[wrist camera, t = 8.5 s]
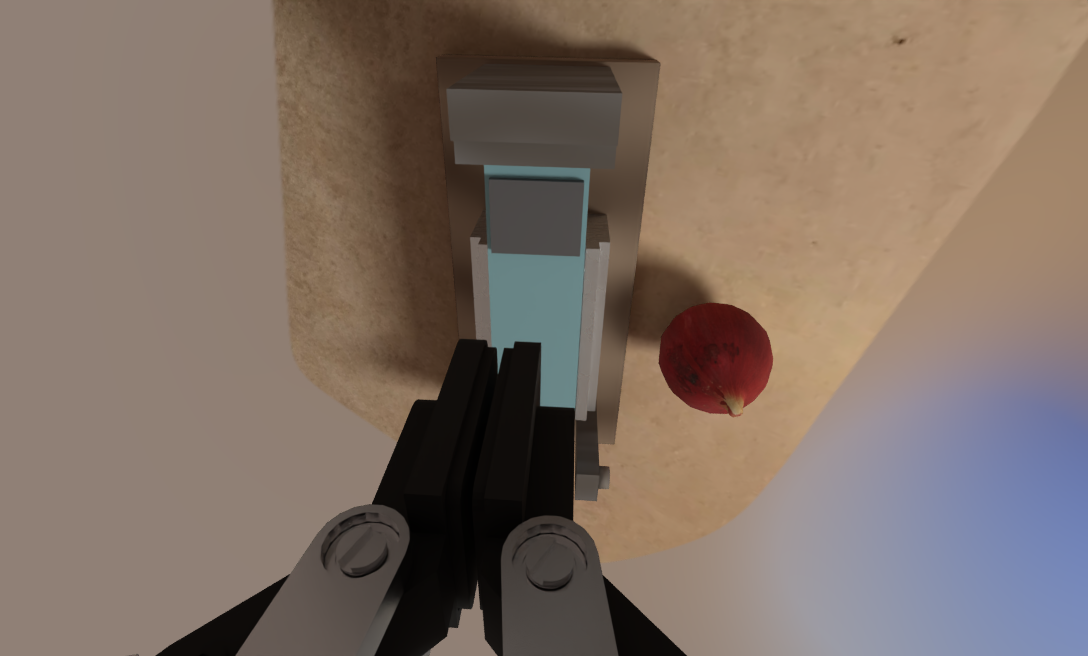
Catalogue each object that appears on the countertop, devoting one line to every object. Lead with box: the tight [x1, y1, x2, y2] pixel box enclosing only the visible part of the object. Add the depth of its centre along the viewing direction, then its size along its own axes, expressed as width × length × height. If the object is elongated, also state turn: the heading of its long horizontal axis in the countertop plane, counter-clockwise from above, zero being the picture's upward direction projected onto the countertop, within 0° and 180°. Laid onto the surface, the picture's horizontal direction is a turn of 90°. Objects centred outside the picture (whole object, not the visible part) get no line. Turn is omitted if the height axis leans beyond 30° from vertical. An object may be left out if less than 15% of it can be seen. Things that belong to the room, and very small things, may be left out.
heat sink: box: [470, 210, 610, 421], centre depth 28 cm, size 10×6×4 cm, turn 179°
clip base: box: [436, 55, 660, 501], centre depth 27 cm, size 23×10×10 cm, turn 179°
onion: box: [659, 303, 773, 417], centre depth 28 cm, size 6×6×8 cm
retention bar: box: [484, 165, 590, 408], centre depth 25 cm, size 18×4×1 cm, turn 179°
